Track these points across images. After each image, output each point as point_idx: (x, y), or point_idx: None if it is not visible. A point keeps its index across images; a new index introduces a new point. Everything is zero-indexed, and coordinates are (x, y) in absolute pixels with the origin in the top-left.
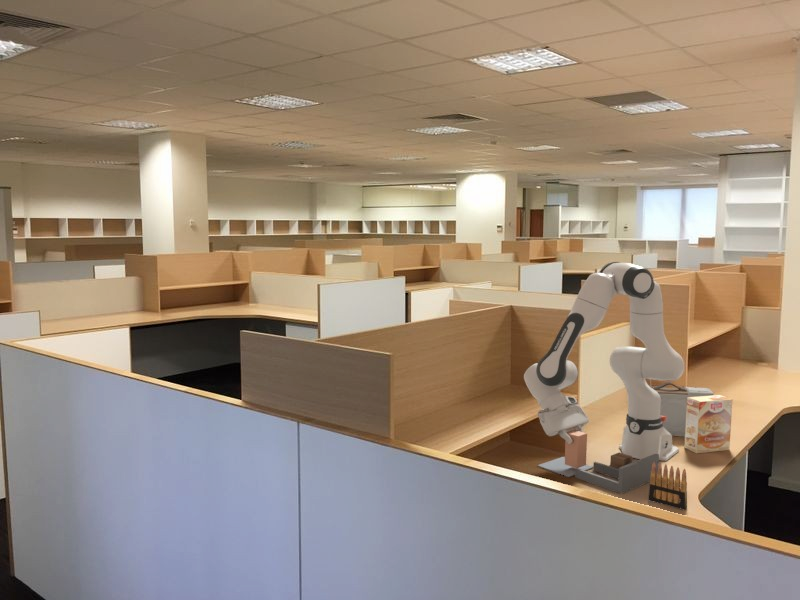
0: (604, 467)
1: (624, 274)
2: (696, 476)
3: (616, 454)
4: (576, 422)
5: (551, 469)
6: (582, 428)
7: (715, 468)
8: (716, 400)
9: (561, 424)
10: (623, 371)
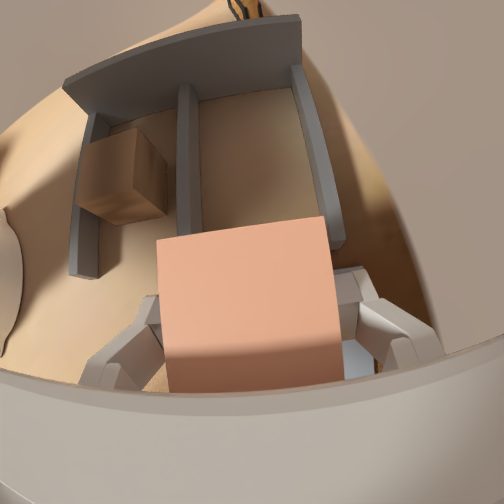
0: (192, 201)
1: None
2: (49, 110)
3: (102, 188)
4: (114, 416)
5: (367, 368)
6: (95, 357)
7: (3, 137)
8: None
9: (478, 409)
10: None
